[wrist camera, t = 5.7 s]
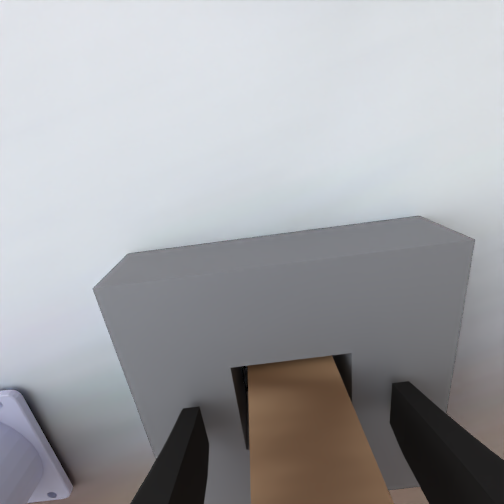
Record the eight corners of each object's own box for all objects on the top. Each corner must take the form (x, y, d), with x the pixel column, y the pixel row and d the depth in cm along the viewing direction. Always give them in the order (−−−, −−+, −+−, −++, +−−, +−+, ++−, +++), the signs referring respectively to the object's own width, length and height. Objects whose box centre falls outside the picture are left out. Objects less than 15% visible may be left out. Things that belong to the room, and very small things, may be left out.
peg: (255, 377, 14) (268, 627, 7) (246, 324, 13) (252, 557, 6) (318, 369, 14) (399, 613, 7) (315, 315, 13) (408, 539, 6)
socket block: (196, 477, 17) (148, 823, 8) (127, 253, 12) (-182, 559, 3) (398, 453, 17) (562, 784, 8) (419, 215, 12) (929, 433, 3)
